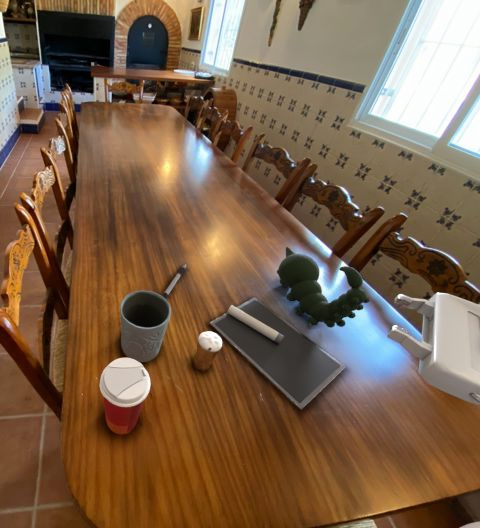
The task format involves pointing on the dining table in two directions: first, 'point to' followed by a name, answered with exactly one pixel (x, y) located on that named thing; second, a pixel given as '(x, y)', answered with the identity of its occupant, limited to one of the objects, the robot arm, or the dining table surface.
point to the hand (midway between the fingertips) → (393, 313)
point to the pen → (174, 281)
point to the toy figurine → (319, 290)
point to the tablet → (280, 353)
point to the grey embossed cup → (143, 324)
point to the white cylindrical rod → (255, 324)
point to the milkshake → (207, 350)
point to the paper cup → (124, 393)
